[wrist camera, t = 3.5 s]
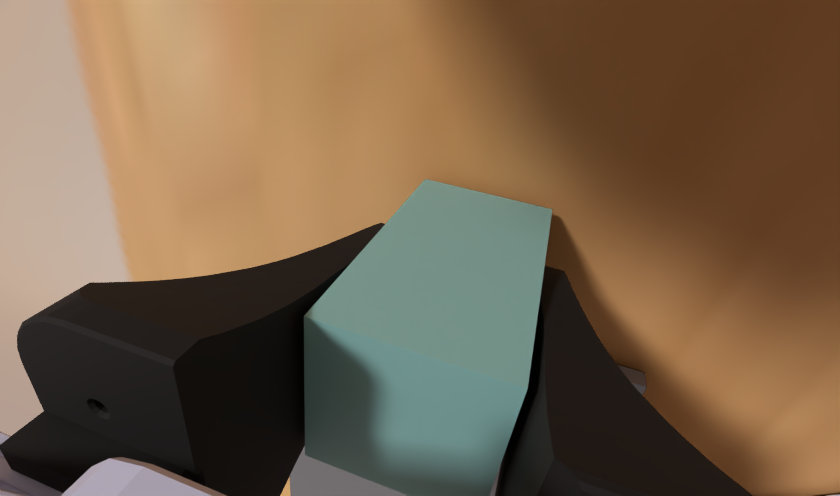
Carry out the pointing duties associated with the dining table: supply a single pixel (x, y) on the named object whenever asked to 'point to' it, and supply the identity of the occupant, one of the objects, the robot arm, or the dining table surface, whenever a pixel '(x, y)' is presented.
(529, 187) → the dining table surface
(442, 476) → the teal block
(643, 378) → the slate board
